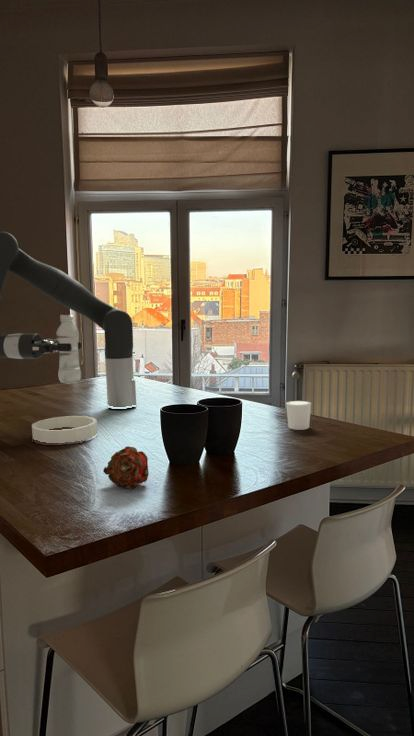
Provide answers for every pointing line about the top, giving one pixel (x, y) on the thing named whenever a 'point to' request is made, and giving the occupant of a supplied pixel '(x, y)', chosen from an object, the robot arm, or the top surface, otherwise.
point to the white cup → (298, 414)
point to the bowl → (81, 430)
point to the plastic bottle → (68, 359)
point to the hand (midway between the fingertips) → (75, 346)
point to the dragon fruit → (128, 468)
